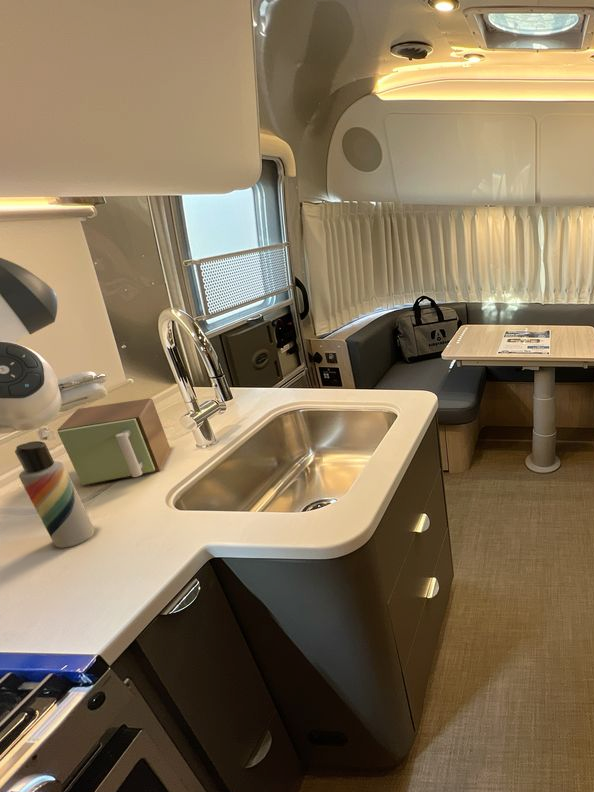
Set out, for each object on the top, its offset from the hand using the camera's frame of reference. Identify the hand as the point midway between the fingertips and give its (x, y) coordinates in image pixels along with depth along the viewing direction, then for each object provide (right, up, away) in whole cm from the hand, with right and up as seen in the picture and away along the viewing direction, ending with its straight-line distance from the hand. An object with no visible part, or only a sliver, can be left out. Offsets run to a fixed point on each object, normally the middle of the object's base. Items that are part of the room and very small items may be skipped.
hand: (28, 417), depth 80 cm
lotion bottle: (-3, -23, +11) cm, 26 cm away
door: (-9, -15, +27) cm, 32 cm away
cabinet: (-13, -12, +35) cm, 39 cm away
